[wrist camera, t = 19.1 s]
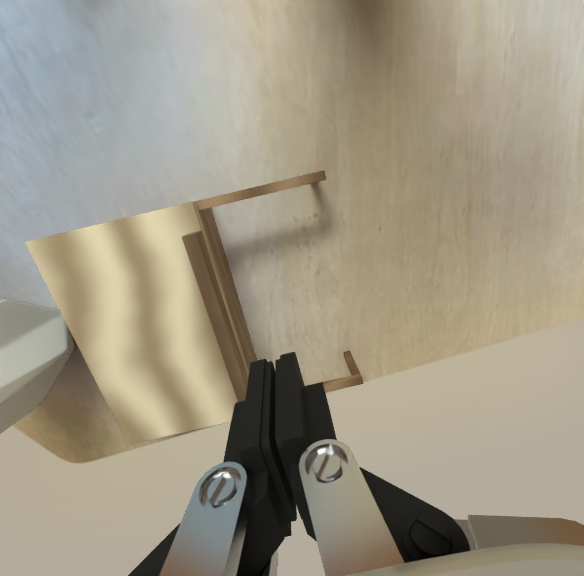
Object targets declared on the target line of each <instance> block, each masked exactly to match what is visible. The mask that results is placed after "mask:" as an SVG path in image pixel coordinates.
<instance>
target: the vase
mask: <svg viewBox="0 0 584 576" xmlns="http://www.w3.org/2000/svg"><path fill="white" fill-rule="evenodd" d="M74 348H75V345H74V341H73V337H72V334H71V332H70V330H69V328H68V326H67V324H66V322H65V320H64V318H63V316H62V314H61V312H60V311H59V310H55V309H51V308H47V307H42V306H37V305H33V304H28V303H23V302H19V301H14V300H9V299H2V300H0V434H1V433H2V432H3V431H5V430H6V429H8V428H9V427H10V426H12V425H13V424H14V423H16V422H17V421H18V420H20V419H21V418H23V417H24V416H25V415H27V414H28V413H29V412H31V411H32V410H33V409H34V408H36V407H37V406H38V405H39V404H40V403H41V402H42V401H43V400H44V399H45V398H46V396H47V394H48V393H49V391H50V389H51V387H52V386H53V384H54V382H55V381H56V379H57V377H58V375H59V374H60V372H61V370H62V369H63V367H64V365H65V363H66V362H67V360H68V358H69V357H70V355H71V353H72V351H73V350H74Z"/></svg>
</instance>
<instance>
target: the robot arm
mask: <svg viewBox="0 0 584 576" xmlns="http://www.w3.org/2000/svg"><path fill="white" fill-rule="evenodd" d="M296 505H297V508H298V511H299V514H300V516H301V519H302V520H303V522H304V526H305V528H306V531H307V534H308V535H309V536H311V537H312V538H313V539H314V540H315V541H317V543H318V547H319V552H320V556H321V559H322V563H323V567H324V571H325V575H326V576H584V525H582V524H580V523H578V522H576V521H572V520H567V519H562V518H540V517H538V518H537V517H511V516H483V515H468V520H456V519H453V518H451V517H450V516H448V515H447V514H446V513H444V512H443V511H441V510H439V509H437V508H435V507H434V506H432V505H430V504H428V503H426V502H424V501H422V500H420V499H419V498H417V497H415V496H413V495H411V494H409V493H407V492H405V491H404V490H402V489H400V488H398V487H396V486H394V485H392V484H391V483H389V482H387V481H385V480H383V479H381V478H379V477H377V476H375V475H374V474H372V473H370V472H368V471H366V470H364V469H362V468H361V467H359V466H358V464H357V462H356V460H355V458H354V455H353V453H352V452H351V450H350V449H349V447H347V445H345V444H344V443H342V442H340V441H337V439H336V435H335V431H334V427H333V422H332V418H331V414H330V410H329V406H328V402H327V398H326V394H325V390H324V386H323V382H321V383H316V384H312V385H308V386H304V382H303V379H302V375H301V372H300V368H299V364H298V361H297V357H296V354H295V352H291V353H287V354H283V355H280V359H279V360H276V372H275V369H274V366H273V363H272V361H271V362H267V360H266V359H262V360H258V361H254V362H251V364H250V370H249V377H248V384H247V391H246V398H245V401H240V402H236V403H235V405H234V410H233V415H232V420H231V425H230V431H229V436H228V441H227V446H226V451H225V456H224V462H223V463H221V464H219V465H217V466H215V467H213V468H212V469H210V470H209V471H207V472H206V473H205V474H204V475H203V477H202V478H201V479H200V480H199V482H198V484H197V485H196V487H195V490H194V492H193V494H192V497H191V499H190V501H189V504H188V506H187V509H186V511H185V514H184V516H183V519H182V521H181V523H180V524H179V525H178V526H177V527H176V528H175V529H174V530H173V531H172V532H171V533H170V534H169V535H168V536H167V537H166V538H165V539H164V540H163V541H162V542H161V543H160V544H159V545H158V546H157V547H156V548H155V549H154V550H153V551H152V552H151V553H150V554H149V555H148V556H147V557H146V558H145V559H144V560H143V561H142V562H141V563H140V564H139V565H138V566H137V567H136V568H135V569H134V570H133V571H132V572H131V573H130V574H129V575H128V576H276V575H277V566H278V553H277V549H278V547H279V546H280V544H281V543H282V542H283V540H284V537H287V536H291V521H296V519H297V512H296Z"/></svg>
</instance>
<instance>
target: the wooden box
mask: <svg viewBox="0 0 584 576" xmlns="http://www.w3.org/2000/svg"><path fill="white" fill-rule="evenodd" d="M323 180H326V176H325V170H324V171H320V172H316V173H312V174H308V175H303V176H299V177H295V178H291V179H287V180H283V181H278V182H274V183H270V184H266V185H262V186H258V187H254V188H249V189H245V190H241V191H237V192H233V193H229V194H224V195H220V196H216V197H212V198H208V199H204V200H199V201H195V203H196V206H197V209H198V212H199V215H200V219H201V222H202V225H203V228H204V231H205V234H206V238H207V241H208V244H209V247H210V250H211V253H212V257H213V260H214V263H215V266H216V269H217V272H218V276H219V279H220V282H221V285H222V288H223V291H224V295H225V298H226V301H227V304H228V307H229V310H230V314H231V317H232V320H233V323H234V326H235V329H236V333H237V336H238V339H239V342H240V345H241V348H242V351H243V355H244V358H245V361H246V364H247V367H248V370H250V364H251V362H254V361H257V358H256V355H255V352H254V348H253V345H252V342H251V339H250V335H249V332H248V329H247V325H246V322H245V319H244V315H243V312H242V309H241V305H240V302H239V299H238V296H237V292H236V289H235V286H234V282H233V279H232V276H231V272H230V269H229V266H228V262H227V259H226V256H225V252H224V249H223V246H222V243H221V239H220V236H219V233H218V229H217V226H216V223H215V219H214V216H213V213H212V209H211V207H214V206H219V205H223V204H227V203H231V202H235V201H239V200H244V199H248V198H252V197H256V196H260V195H264V194H269V193H273V192H277V191H281V190H285V189H289V188H294V187H298V186H302V185H306V184H310V183H314V182H319V181H323ZM344 357H345V359H346V362H347V364H348V367H349V369H350V372H351V374H352V376H348V377H343V378H339V379H334V380H330V381H326V382H323V386H324V390H325V392H329V391H333V390H337V389H342V388H346V387H351V386H355V385H360V384H363V380H362V377H361V374H360V372H359V370H358V368H357V366H356V364H355V361H354V359H353V357H352V355H351V353H350V351H347V352H344Z"/></svg>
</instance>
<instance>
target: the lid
mask: <svg viewBox="0 0 584 576" xmlns="http://www.w3.org/2000/svg"><path fill="white" fill-rule="evenodd" d="M25 243H26V245H27V247H28V249H29V251H30V253H31V255H32V257H33V259H34V261H35V262H36V264H37V266H38V268H39V270H40V272H41V274H42V276H43V278H44V280H45V282H46V284H47V286H48V288H49V290H50V292H51V294H52V296H53V298H54V300H55V302H56V304H57V306H58V308H59V310H60V312H61V314H62V316H63V318H64V320H65V322H66V324H67V326H68V328H69V330H70V332H71V334H72V336H73V337H74V339H75V341H76V343H77V345H78V347H79V349H80V351H81V353H82V355H83V357H84V359H85V361H86V363H87V365H88V367H89V369H90V371H91V373H92V375H93V377H94V379H95V381H96V383H97V385H98V387H99V389H100V391H101V393H102V395H103V397H104V399H105V401H106V403H107V405H108V407H109V409H110V410H111V412H112V414H113V416H114V418H115V420H116V422H117V424H118V426H119V428H120V430H121V432H122V434H123V436H124V438H125V440H126V442H127V444H128V445H130V444H134V443H139V442H143V441H147V440H152V439H156V438H161V437H165V436H170V435H174V434H179V433H183V432H187V431H192V430H196V429H201V428H205V427H210V426H214V425H219V424H223V423H227V422H231V420H232V415H233V410H234V405H235V403H236V402H240V401H245V398H246V391H247V384H248V377H249V370H248V367H247V364H246V361H245V358H244V355H243V351H242V348H241V345H240V342H239V339H238V336H237V333H236V329H235V326H234V323H233V320H232V317H231V314H230V310H229V307H228V304H227V301H226V298H225V295H224V291H223V288H222V285H221V282H220V279H219V276H218V272H217V269H216V266H215V263H214V260H213V257H212V253H211V250H210V247H209V244H208V241H207V238H206V234H205V231H204V228H203V225H202V222H201V219H200V215H199V212H198V209H197V206H196V203H195V202H189V203H185V204H181V205H177V206H173V207H169V208H164V209H160V210H156V211H152V212H148V213H144V214H139V215H135V216H131V217H127V218H123V219H119V220H114V221H110V222H106V223H102V224H98V225H94V226H90V227H85V228H81V229H77V230H73V231H69V232H65V233H60V234H56V235H52V236H48V237H44V238H40V239H36V240H31V241H27V242H25Z"/></svg>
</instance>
